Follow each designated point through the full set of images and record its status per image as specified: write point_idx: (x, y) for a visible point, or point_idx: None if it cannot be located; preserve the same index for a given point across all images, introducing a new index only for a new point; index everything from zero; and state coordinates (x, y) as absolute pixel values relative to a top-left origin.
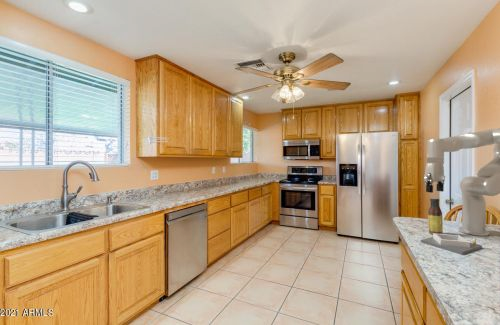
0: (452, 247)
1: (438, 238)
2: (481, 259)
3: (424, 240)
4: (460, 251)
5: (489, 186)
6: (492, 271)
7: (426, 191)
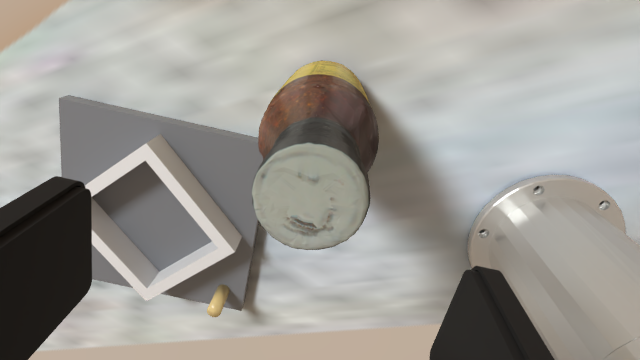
0: None
1: None
2: (89, 316)
3: (66, 116)
4: None
5: None
6: None
7: (58, 185)
